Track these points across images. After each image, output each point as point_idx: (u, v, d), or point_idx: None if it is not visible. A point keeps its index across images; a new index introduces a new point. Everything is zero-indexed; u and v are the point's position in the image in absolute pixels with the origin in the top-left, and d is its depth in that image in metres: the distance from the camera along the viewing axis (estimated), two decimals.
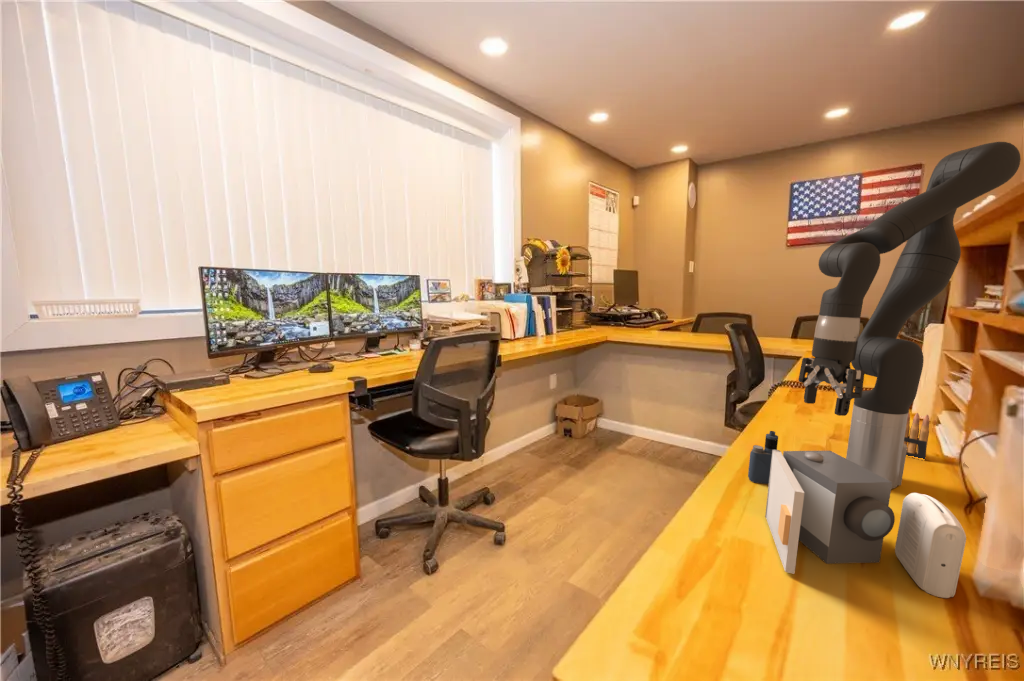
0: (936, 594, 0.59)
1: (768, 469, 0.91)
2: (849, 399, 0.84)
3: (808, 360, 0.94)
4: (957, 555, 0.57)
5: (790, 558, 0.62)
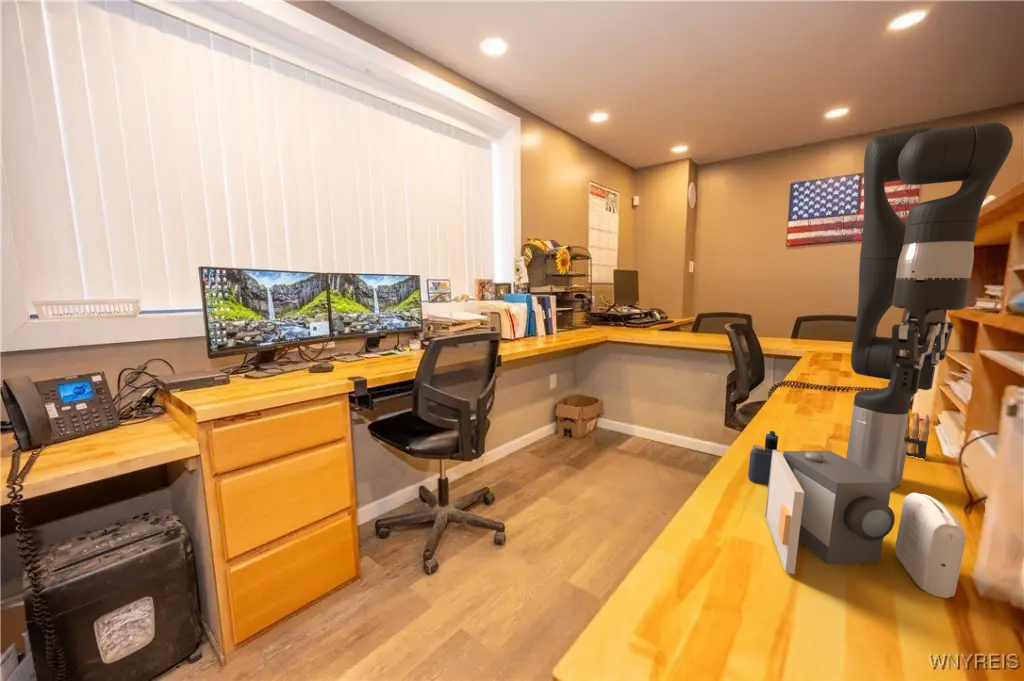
0: (936, 594, 0.59)
1: (768, 469, 0.91)
2: None
3: None
4: (957, 555, 0.57)
5: (790, 558, 0.62)
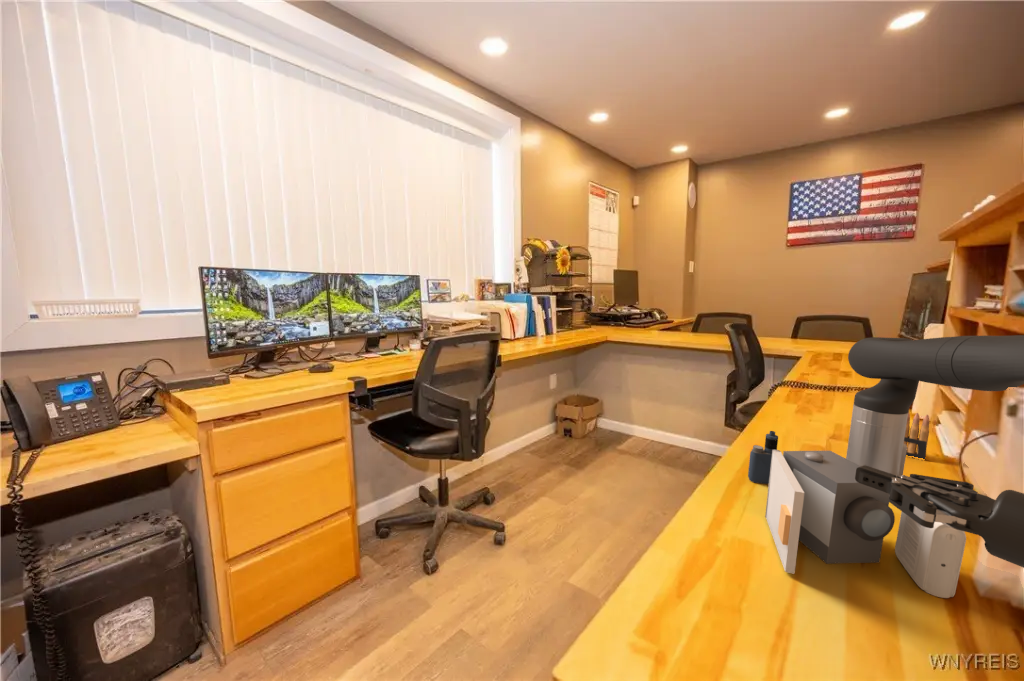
0: (936, 594, 0.59)
1: (768, 469, 0.91)
2: None
3: None
4: (957, 555, 0.57)
5: (790, 558, 0.62)
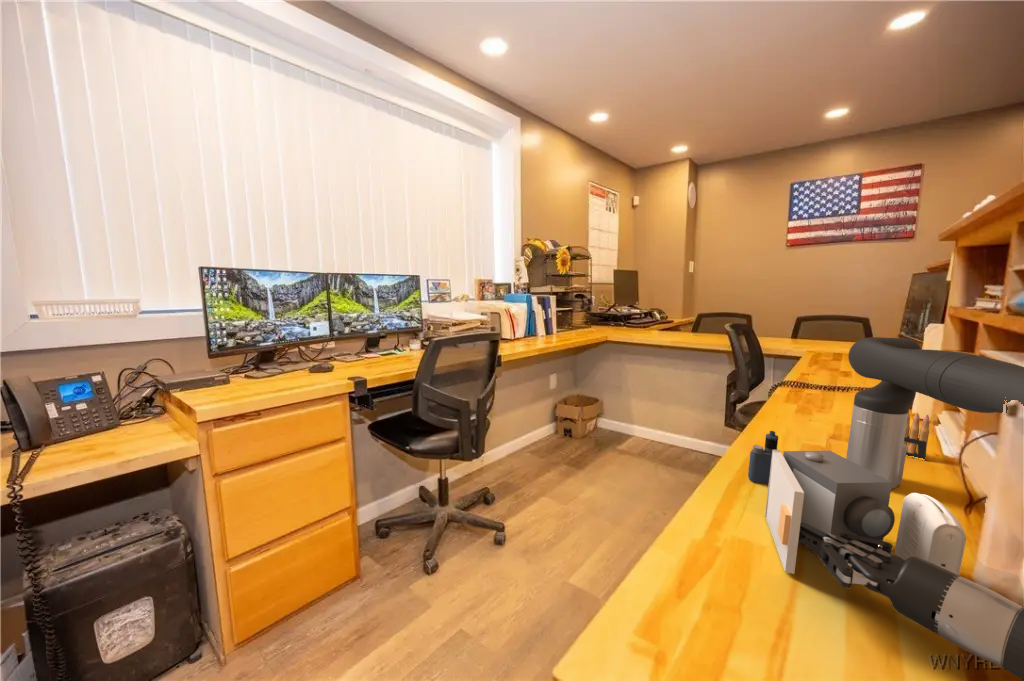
0: None
1: (768, 469, 0.91)
2: None
3: None
4: (957, 555, 0.57)
5: (790, 558, 0.62)
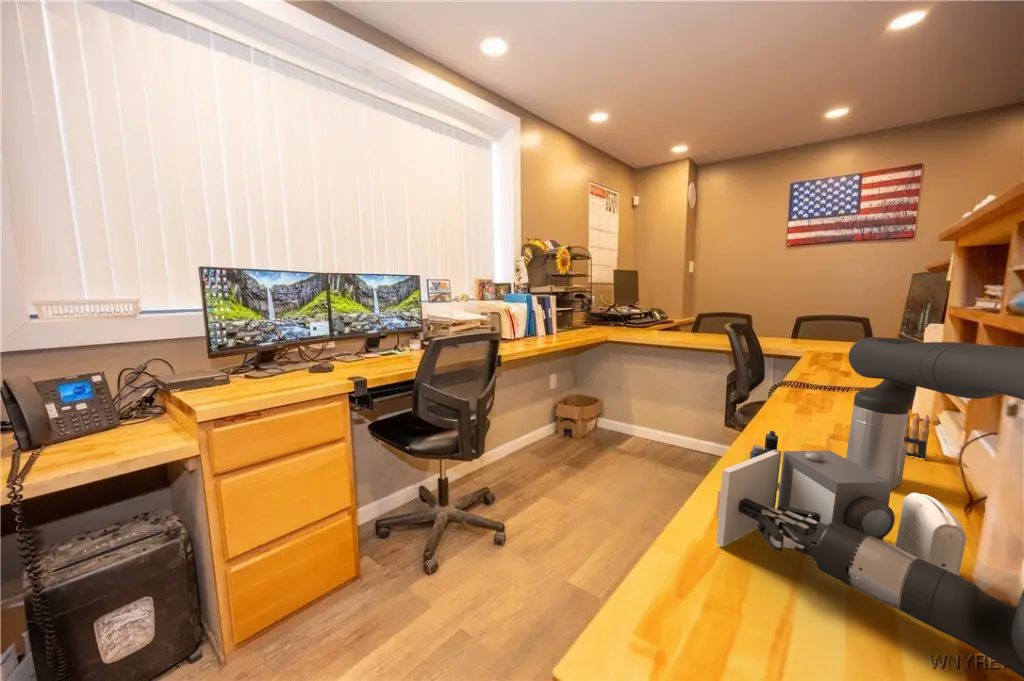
0: None
1: None
2: None
3: None
4: (957, 555, 0.57)
5: (719, 531, 0.69)
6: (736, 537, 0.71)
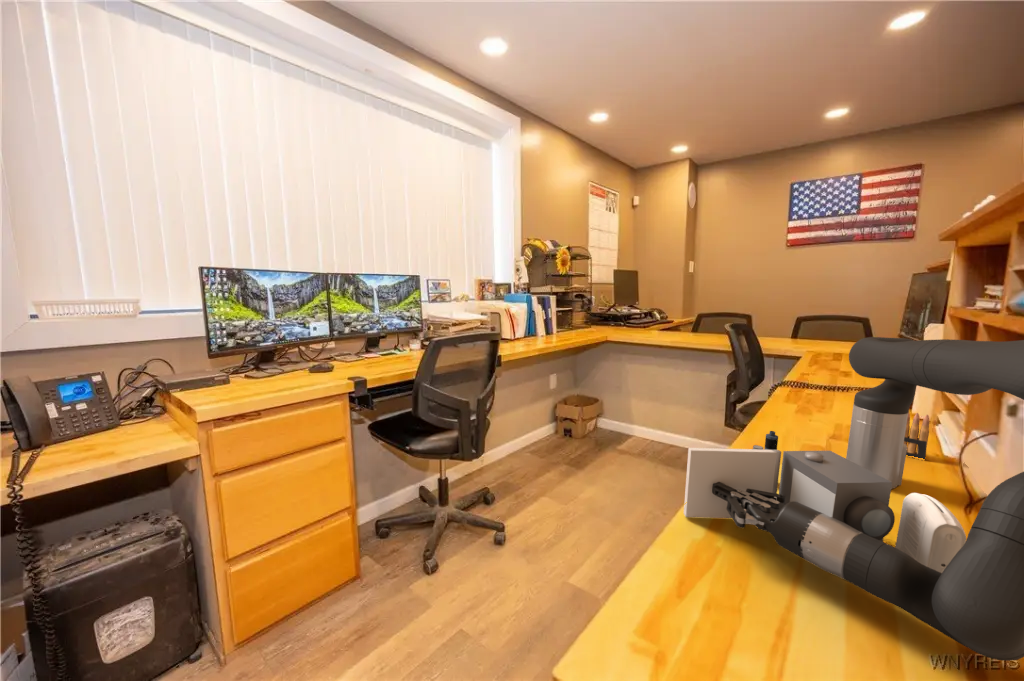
0: None
1: None
2: None
3: (745, 523, 0.66)
4: None
5: (685, 502, 0.78)
6: (707, 515, 0.77)
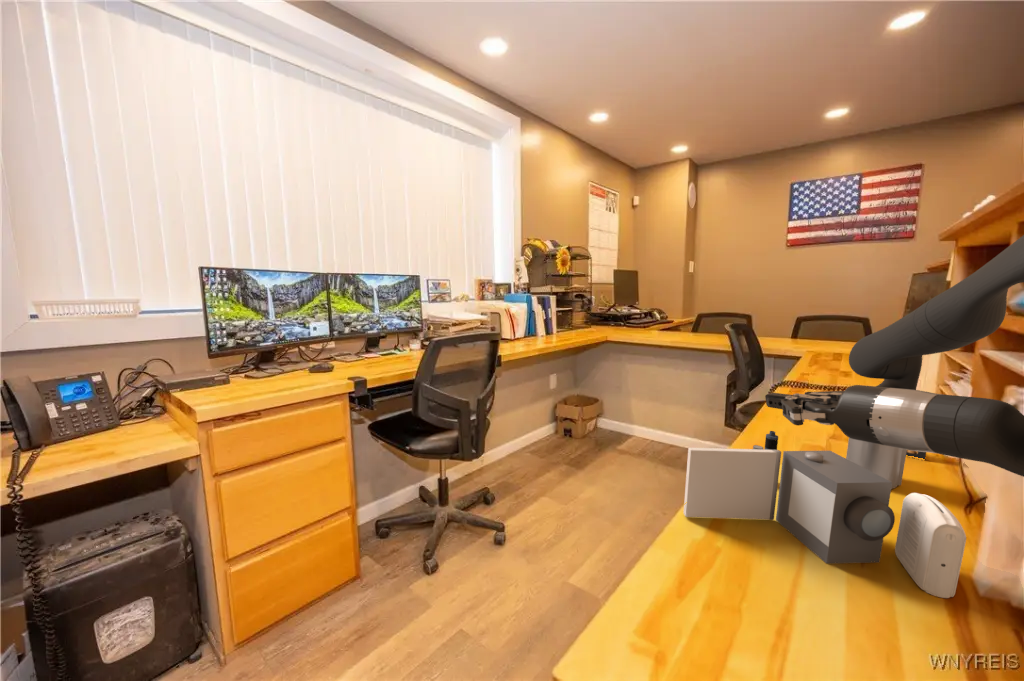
0: (936, 594, 0.59)
1: None
2: None
3: (802, 420, 0.58)
4: (957, 555, 0.57)
5: (685, 502, 0.78)
6: (707, 515, 0.77)
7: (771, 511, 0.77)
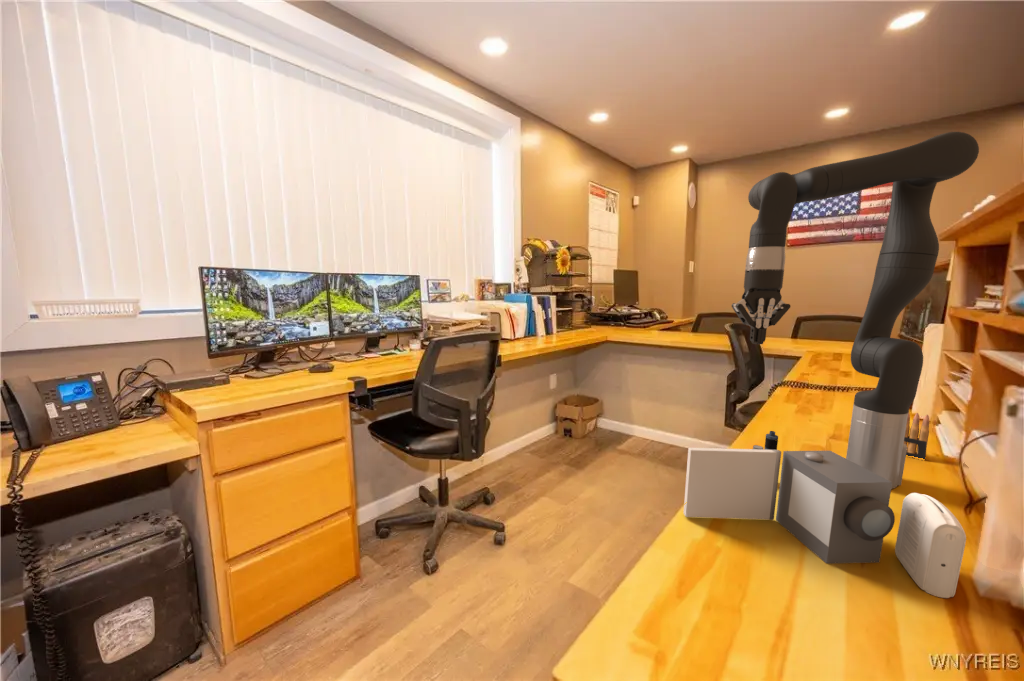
0: (936, 594, 0.59)
1: None
2: None
3: (740, 304, 0.92)
4: (957, 555, 0.57)
5: (685, 502, 0.78)
6: (707, 515, 0.77)
7: (771, 511, 0.77)
